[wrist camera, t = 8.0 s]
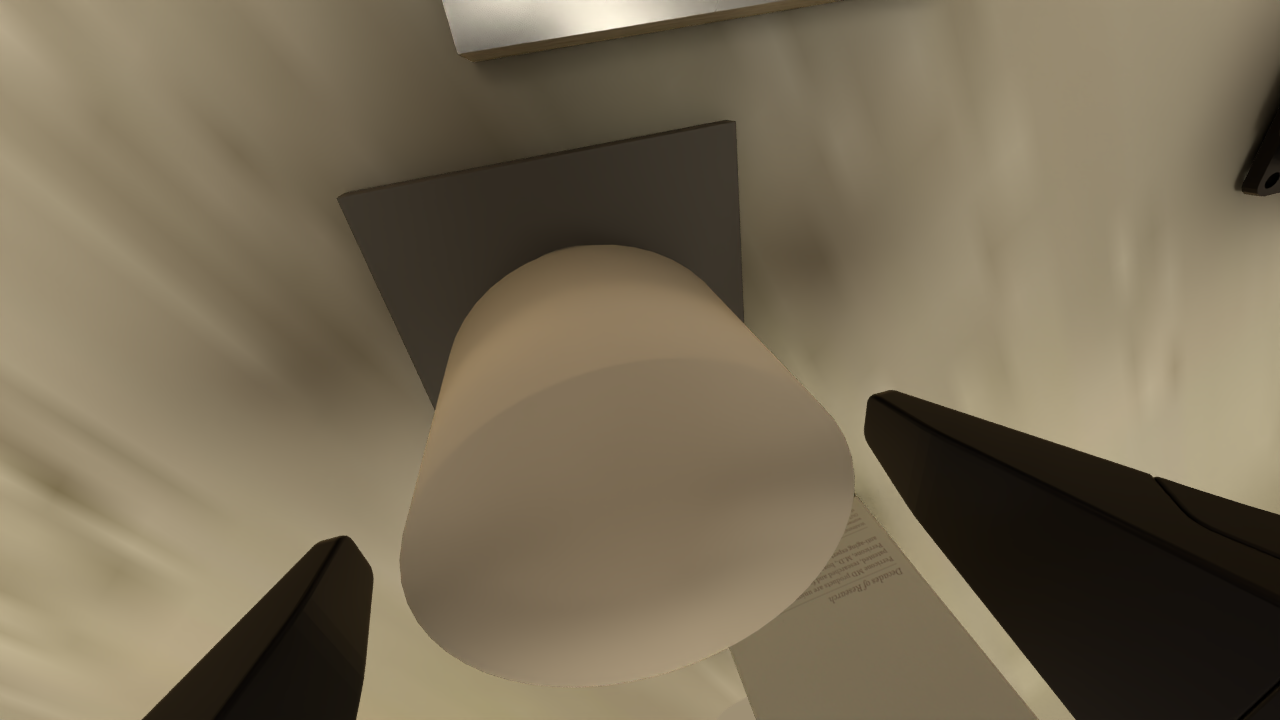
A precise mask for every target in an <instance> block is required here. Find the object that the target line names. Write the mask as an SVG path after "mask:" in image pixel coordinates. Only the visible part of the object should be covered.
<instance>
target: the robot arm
mask: <svg viewBox="0 0 1280 720" xmlns="http://www.w3.org/2000/svg"><path fill="white" fill-rule="evenodd" d="M1242 192H1243V193H1244V194H1249V195H1256V196H1267V195H1271V194H1275V193H1280V107H1279V109H1278V111H1277V113H1276V116H1275V118H1274V120H1273V122H1272V124H1271V126H1270V128H1269V130H1268V132H1267V134H1266V136H1265V138H1264V140H1263V143H1262V145H1261V147H1260V149H1259V151H1258V153H1257V155H1256V157H1255V159H1254V161H1253V163H1252V165H1251V167H1250V170H1249V172H1248V174H1247V176H1246V178H1245V180H1244V182H1243V185H1242ZM864 435H865V439H866V441H867V443H868V445H869V447H870V448H871V450H872V451H873V453H874V455H875V456H876V458H877V459H878V461H879V462H880V464H881V465H882V467H883V469H884V470H885V472H886V473H887V475H888V476H889V478H890V479H891V481H892V483H893V484H894V486H895V487H896V489H897V490H898V492H899V494H900V495H901V497H902V498H903V500H904V501H905V503H906V504H907V506H908V507H909V509H910V510H911V512H912V513H913V515H914V516H915V517H916V519H917V520H918V521H919V523H920V524H921V525H922V526H923V528H924V529H925V530H926V532H927V533H928V534H929V535H930V537H931V538H932V539H933V540H934V542H935V543H936V544H937V545H938V547H939V548H940V549H941V550H942V552H943V553H944V554H945V555H946V557H947V558H948V559H949V561H950V562H951V563H952V564H953V566H954V567H955V568H956V569H957V571H958V572H959V573H960V574H961V576H962V577H963V578H964V579H965V581H966V582H967V583H968V584H969V586H970V587H971V588H972V590H973V591H974V592H975V593H976V595H977V596H978V597H979V598H980V600H981V601H982V602H983V603H984V605H985V606H986V607H987V608H988V610H989V611H990V612H991V613H992V615H993V616H994V617H995V619H996V620H997V621H998V622H999V624H1000V625H1001V626H1002V627H1003V629H1004V630H1005V631H1006V632H1007V634H1008V635H1009V636H1010V637H1011V639H1012V640H1013V641H1014V642H1015V644H1016V645H1017V646H1018V648H1019V649H1020V650H1021V651H1022V653H1023V654H1024V655H1025V656H1026V658H1027V659H1028V660H1029V661H1030V663H1031V664H1032V665H1033V666H1034V668H1035V669H1036V670H1037V671H1038V673H1039V674H1040V675H1041V677H1042V678H1043V679H1044V680H1045V682H1046V683H1047V684H1048V685H1049V687H1050V688H1051V689H1052V690H1053V692H1054V693H1055V694H1056V695H1057V697H1058V698H1059V699H1060V700H1061V702H1062V703H1063V704H1064V705H1065V707H1066V708H1067V709H1068V711H1069V712H1070V713H1071V714H1072V716H1073V717H1074V718H1075V719H1076V720H1280V515H1278V514H1275V513H1272V512H1268V511H1265V510H1261V509H1258V508H1254V507H1251V506H1248V505H1245V504H1241V503H1238V502H1235V501H1232V500H1229V499H1226V498H1222V497H1219V496H1216V495H1213V494H1210V493H1207V492H1203V491H1200V490H1197V489H1194V488H1191V487H1188V486H1185V485H1182V484H1179V483H1176V482H1173V481H1170V480H1167V479H1164V478H1161V477H1154V478H1153V477H1152V476H1151V475H1150V474H1148V473H1145V472H1142V471H1139V470H1136V469H1133V468H1130V467H1127V466H1124V465H1121V464H1118V463H1115V462H1112V461H1109V460H1106V459H1102V458H1099V457H1096V456H1093V455H1090V454H1087V453H1084V452H1081V451H1078V450H1075V449H1072V448H1069V447H1066V446H1063V445H1060V444H1057V443H1054V442H1051V441H1048V440H1045V439H1042V438H1038V437H1035V436H1032V435H1029V434H1026V433H1023V432H1020V431H1017V430H1014V429H1011V428H1008V427H1005V426H1002V425H999V424H996V423H993V422H990V421H987V420H984V419H981V418H978V417H974V416H971V415H968V414H965V413H962V412H959V411H956V410H953V409H950V408H947V407H944V406H941V405H938V404H935V403H932V402H929V401H926V400H923V399H920V398H917V397H914V396H910V395H907V394H904V393H901V392H898V391H895V390H888V391H884V392H881V393H877V394H873V395H872V396H870V397H869V399H868V401H867V409H866V417H865V425H864ZM372 591H373V572H372V569H371V566H370V564H369V563H368V561H367V560H366V559H365V557H364V556H363V554H362V553H361V551H360V550H359V549H358V547H357V546H356V544H355V543H354V541H353V540H352V539H351V538H350V537H348V536H338V537H334V538H331V539H327V540H323V541H321V542H318V543H317V544H315V545H314V546H313V547H312V548H311V549H310V550H309V551H308V552H307V553H306V554H305V555H304V556H303V557H302V558H301V559H300V560H299V561H298V562H297V563H296V564H295V565H294V566H293V567H292V568H291V569H290V570H289V571H288V572H287V573H286V574H285V575H284V576H283V578H282V579H281V580H280V581H279V582H278V583H277V584H276V585H275V586H274V587H273V588H272V589H271V590H270V591H269V592H268V593H267V594H266V595H265V596H264V597H263V598H262V599H261V600H260V601H259V602H258V603H257V604H256V605H255V606H254V607H253V608H252V609H251V610H250V611H249V612H248V613H247V614H246V615H245V616H244V617H243V618H242V619H241V620H240V621H239V622H238V623H237V624H236V625H235V626H234V627H233V628H232V629H231V630H230V631H229V632H228V633H227V634H226V635H225V636H224V637H223V638H222V639H221V640H220V641H219V642H218V643H217V644H216V645H215V646H214V647H213V648H212V649H211V650H210V651H209V652H208V653H207V654H206V655H205V656H204V657H203V658H202V659H201V660H200V661H199V662H198V663H197V664H196V665H195V666H194V667H193V668H192V669H191V670H190V671H189V672H188V674H187V675H186V676H185V677H184V678H183V679H182V680H181V681H180V682H179V683H178V684H177V685H176V686H175V687H174V688H173V689H172V690H171V691H170V692H169V693H168V694H167V695H166V696H165V697H164V698H163V699H162V700H161V701H160V702H159V703H158V704H157V705H156V706H155V707H154V708H153V709H152V710H151V711H150V712H149V713H148V714H147V715H146V716H145V717H144V718H143V719H142V720H356V717H357V712H358V707H359V702H360V697H361V692H362V686H363V681H364V673H365V665H366V656H367V645H368V634H369V624H370V613H371V602H372Z"/></svg>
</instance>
